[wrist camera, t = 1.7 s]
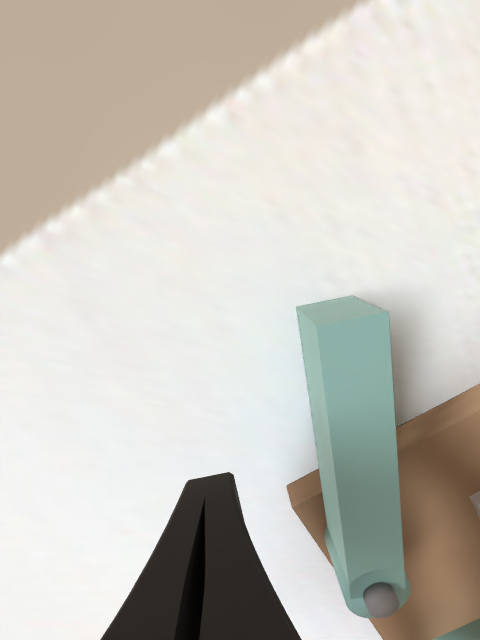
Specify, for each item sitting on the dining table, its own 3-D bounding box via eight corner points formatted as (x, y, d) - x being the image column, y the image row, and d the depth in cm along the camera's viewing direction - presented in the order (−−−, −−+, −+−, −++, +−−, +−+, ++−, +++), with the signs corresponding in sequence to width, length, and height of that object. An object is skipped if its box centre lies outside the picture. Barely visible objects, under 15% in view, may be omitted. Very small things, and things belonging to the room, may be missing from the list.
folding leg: (380, 548, 17) (418, 623, 14) (327, 559, 17) (352, 637, 14) (358, 294, 14) (404, 313, 10) (290, 307, 14) (313, 331, 10)
